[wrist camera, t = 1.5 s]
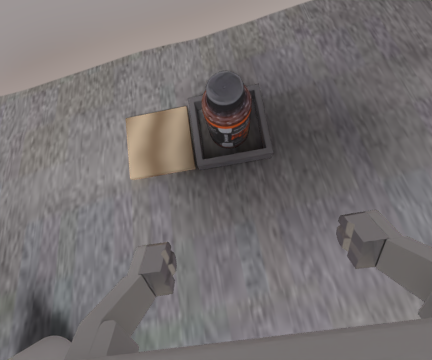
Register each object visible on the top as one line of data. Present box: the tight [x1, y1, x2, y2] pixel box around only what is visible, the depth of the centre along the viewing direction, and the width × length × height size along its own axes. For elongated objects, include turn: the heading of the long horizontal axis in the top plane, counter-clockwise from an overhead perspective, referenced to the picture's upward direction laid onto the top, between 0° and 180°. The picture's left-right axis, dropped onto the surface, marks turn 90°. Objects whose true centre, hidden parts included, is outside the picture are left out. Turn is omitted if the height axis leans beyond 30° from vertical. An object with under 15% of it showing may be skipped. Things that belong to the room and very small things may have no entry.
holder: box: [188, 84, 273, 170], centre depth 32 cm, size 11×11×2 cm
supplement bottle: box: [202, 71, 252, 148], centre depth 28 cm, size 6×6×11 cm
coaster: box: [126, 106, 196, 180], centre depth 34 cm, size 10×10×1 cm
